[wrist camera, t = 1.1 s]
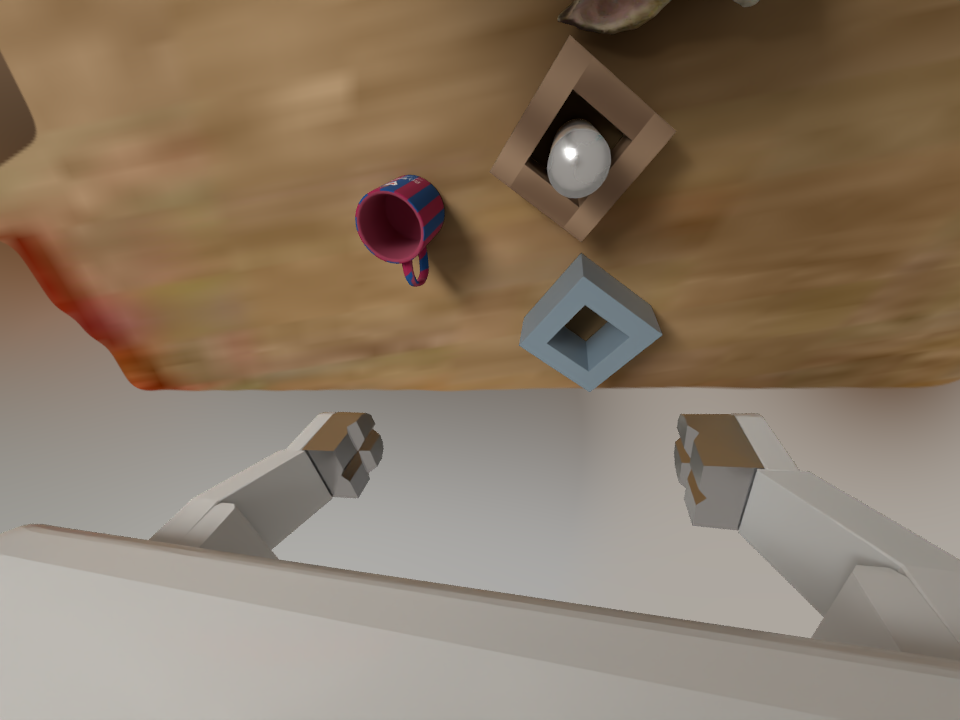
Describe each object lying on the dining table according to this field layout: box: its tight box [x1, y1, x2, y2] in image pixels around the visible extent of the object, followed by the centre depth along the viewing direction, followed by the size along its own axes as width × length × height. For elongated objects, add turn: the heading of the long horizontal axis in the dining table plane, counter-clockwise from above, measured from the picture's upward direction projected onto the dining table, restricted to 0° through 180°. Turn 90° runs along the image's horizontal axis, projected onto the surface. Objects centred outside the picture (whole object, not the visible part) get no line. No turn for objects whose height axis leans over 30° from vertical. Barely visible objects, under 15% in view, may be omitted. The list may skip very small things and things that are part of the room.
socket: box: [519, 253, 662, 392], centre depth 39 cm, size 10×10×6 cm
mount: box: [490, 35, 676, 242], centre depth 30 cm, size 10×10×5 cm
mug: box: [355, 175, 445, 287], centre depth 36 cm, size 7×10×7 cm
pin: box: [547, 119, 611, 198], centre depth 27 cm, size 4×4×11 cm
